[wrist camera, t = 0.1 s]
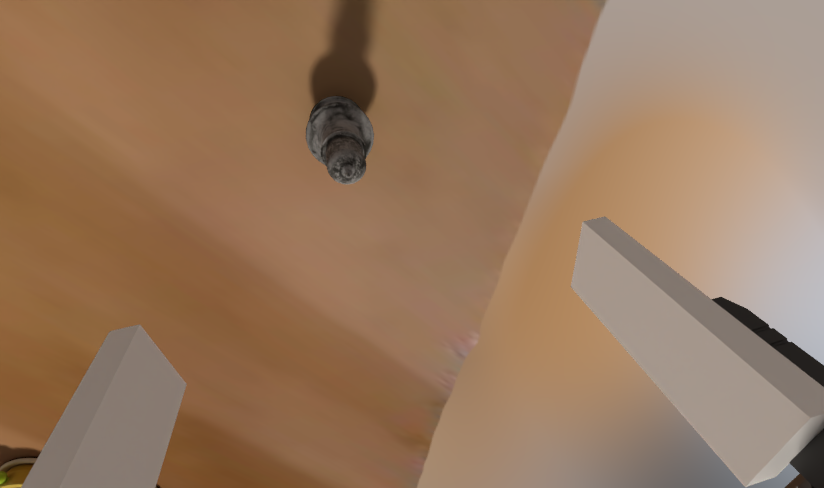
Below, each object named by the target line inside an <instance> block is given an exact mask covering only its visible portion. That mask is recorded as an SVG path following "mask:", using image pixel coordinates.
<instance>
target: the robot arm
mask: <svg viewBox="0 0 824 488" xmlns="http://www.w3.org/2000/svg"><path fill="white" fill-rule="evenodd" d="M571 288H572V289H573V290H574V291H575V292H576V293H577V294H578V296H579V297H580V298H581V299H582V300H583V301H584V302H585V304H586V305H587V306H588V307H589V308H590V309H591V310H592V312H593V313H594V314H595V315H596V316H597V317H598V319H599V320H600V321H601V322H602V323H603V324H604V325H605V327H606V328H607V329H608V330H609V331H610V332H611V333H612V335H613V336H614V337H615V338H616V339H617V340H618V342H619V343H620V344H621V345H622V346H623V347H624V348H625V350H626V351H627V352H628V353H629V354H630V355H631V356H632V358H633V359H634V360H635V361H636V362H637V363H638V365H639V366H640V367H641V368H642V369H643V370H644V371H645V373H646V374H647V375H648V376H649V377H650V378H651V379H652V381H653V382H654V383H655V384H656V385H657V386H658V387H659V389H660V390H661V391H662V392H663V393H664V394H665V396H666V397H667V398H668V399H669V400H670V401H671V402H672V404H673V405H674V406H675V407H676V408H677V409H678V410H679V412H680V413H681V414H682V415H683V416H684V417H685V419H686V420H687V421H688V422H689V423H690V424H691V425H692V427H693V428H694V429H695V430H696V431H697V432H698V433H699V435H700V436H701V437H702V438H703V439H704V440H705V442H706V443H707V444H708V445H709V446H710V447H711V448H712V450H713V451H714V452H715V453H716V454H717V455H718V456H719V457H720V459H721V460H722V461H723V462H724V463H725V465H726V466H727V467H728V468H729V469H730V470H731V471H732V473H733V474H734V475H735V476H736V477H737V478H738V479H739V481H740V482H741V483H742V484H743V485H744V486H745V487H747V486H750V485H753V484H756V483H758V482H762V481H764V480H767V479H770V478H773V477H776V476H777V475H778V474H779V473H780V472H781V471H782V470H783V469H784V468H785V467H786V466H787V465H788V464H789V463H790V464H791V465H792V466H793V467H794V468H795V469H796V470H797V471H798V472H799V473H800V474H799V475H798V476H797V477H796V478H795V479H794V480H792V481H791V482H790V483H789V484H788V485H787V486H786V487H785V488H824V365H822V364H821V363H820V362H818V361H817V360H815V359H814V358H813V357H811V356H810V355H809V354H807V353H806V352H805V351H803V350H802V349H801V348H799V347H798V346H797V345H795V344H794V343H792V342H788V341H787V338H786V337H784V336H783V335H782V334H780V333H779V332H778V331H776V330H775V329H773V328H772V329H771V328H769V325H768V324H766V323H765V322H764V321H763V320H761V319H759V317H757V316H756V315H755V314H753V313H752V312H751V311H749V310H748V309H746V308H744V307H742V306H740V305H737V304H735V303H733V302H731V301H729V300H727V299H724V298H722V297H719V298H715V299H710V298H709V297H708V296H706V295H705V294H704V293H702V292H701V291H700V290H699V289H697V288H696V287H695V286H693V285H692V284H691V283H690V282H688V281H687V280H686V279H684V278H683V277H682V276H680V275H679V274H678V273H677V272H675V271H674V270H673V269H672V268H670V267H669V266H668V265H667V264H665V263H664V262H663V261H661V260H660V259H659V258H658V257H656V256H655V255H653V254H652V253H651V252H650V251H649V250H647V249H646V248H645V247H644V246H642V245H641V244H640V243H638V242H637V241H636V240H635V239H633V238H632V237H630V236H629V235H628V234H627V233H626V232H624V231H623V230H622V229H620V228H619V227H618V226H617V225H615V224H614V223H613V222H611V221H610V220H609V219H607V218H606V217H601V218H597V219H592V220H588V221H584V222H583V223H582V230H581V234H580V240H579V245H578V251H577V256H576V262H575V267H574V273H573V278H572V284H571ZM185 388H186V383H185V382H184V380H183V379H182V378H181V376H180V375H179V374H178V373H177V371H176V370H175V369H174V367H173V366H172V365H171V364H170V362H169V361H168V360H167V359H166V357H165V356H164V355H163V353H162V352H161V351H160V350H159V348H158V347H157V346H156V345H155V343H154V342H153V341H152V339H151V338H150V337H149V336H148V334H147V333H146V332H145V331H144V329H143V328H142V327H141V325H135V326H131V327H127V328H122V329H118V330H114V331H110V332H109V334H108V335H107V337H106V339H105V341H104V342H103V344H102V346H101V348H100V349H99V351H98V353H97V355H96V356H95V358H94V360H93V362H92V363H91V365H90V367H89V369H88V370H87V372H86V374H85V376H84V378H83V379H82V381H81V383H80V385H79V386H78V388H77V390H76V392H75V393H74V395H73V397H72V399H71V400H70V402H69V404H68V406H67V407H66V409H65V411H64V413H63V414H62V416H61V418H60V420H59V421H58V423H57V425H56V427H55V428H54V430H53V432H52V434H51V435H50V437H49V439H48V441H47V442H46V444H45V446H44V448H43V450H42V451H41V453H40V455H39V457H38V458H37V460H36V462H35V464H34V465H33V467H32V469H31V471H30V472H29V474H28V476H27V478H26V479H25V481H24V483H23V485H22V486H21V487H20V488H155V487H156V483H157V480H158V477H159V474H160V470H161V467H162V464H163V460H164V457H165V454H166V450H167V447H168V444H169V440H170V437H171V434H172V431H173V427H174V424H175V421H176V417H177V414H178V411H179V407H180V404H181V401H182V397H183V394H184V391H185Z"/></svg>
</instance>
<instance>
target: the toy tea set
mask: <svg viewBox="0 0 824 488" xmlns="http://www.w3.org/2000/svg"><path fill="white" fill-rule="evenodd" d="M36 460H37V458H22V459H16V460H12V461H9V462H7V463H5V464H4V465H2V466H1V467H0V488H20V487H21V486H22V485H23V483H24V481H25V479H26V478H27V476H28V474H29V472H30V471H31V469H32V467H33V465H34V464H35V462H36ZM155 488H157V487H155Z"/></svg>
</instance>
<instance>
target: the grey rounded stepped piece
mask: <svg viewBox="0 0 824 488" xmlns="http://www.w3.org/2000/svg"><path fill="white" fill-rule="evenodd" d="M373 139H374V133H373V127H372V125H371V123H370V120H369V118H368V117H367V116H366V115H365V114H364V112H363V111H362V110H361V109H360V108H359V107H358V105H357V104H356V103H354V102H353V101H352V100H350V99H347V98H345V97H340V96H332V97H327V98H325V99H323V100H321V101H320V102H319V103H318V104H317V105H315V107H314V109H313V110H312V112H311V115H310V119H309V121H308V125H307V128H306V141H307V144H308V148H309V149H310V151H311V153H312V154H313V156H314V157H315V158H316V159H317V160H318V161H320V162H321V163H323V164H325V165H326V166H327V169H328V173H329V174H330V176H331V177H332V178H333V179H334V180H335V181H337V182H338V183H342V184H352V183H355V182H357V181H359V180H360V179H361V178H362V177H363V175H364V173H365V170H366V161H365V159H366V157H367V155H368V154H369V152H370V151H371V148H372V145H373Z"/></svg>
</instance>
